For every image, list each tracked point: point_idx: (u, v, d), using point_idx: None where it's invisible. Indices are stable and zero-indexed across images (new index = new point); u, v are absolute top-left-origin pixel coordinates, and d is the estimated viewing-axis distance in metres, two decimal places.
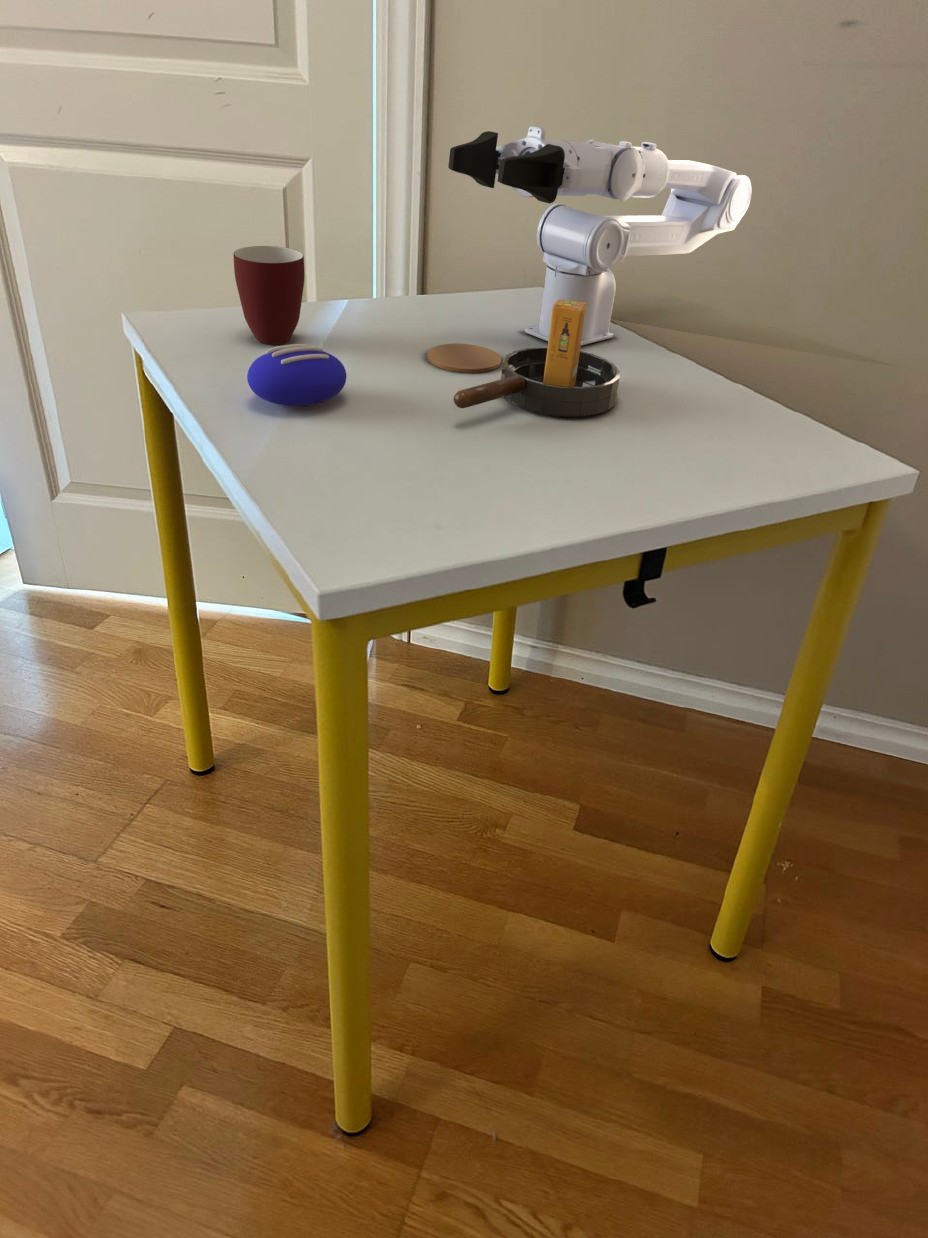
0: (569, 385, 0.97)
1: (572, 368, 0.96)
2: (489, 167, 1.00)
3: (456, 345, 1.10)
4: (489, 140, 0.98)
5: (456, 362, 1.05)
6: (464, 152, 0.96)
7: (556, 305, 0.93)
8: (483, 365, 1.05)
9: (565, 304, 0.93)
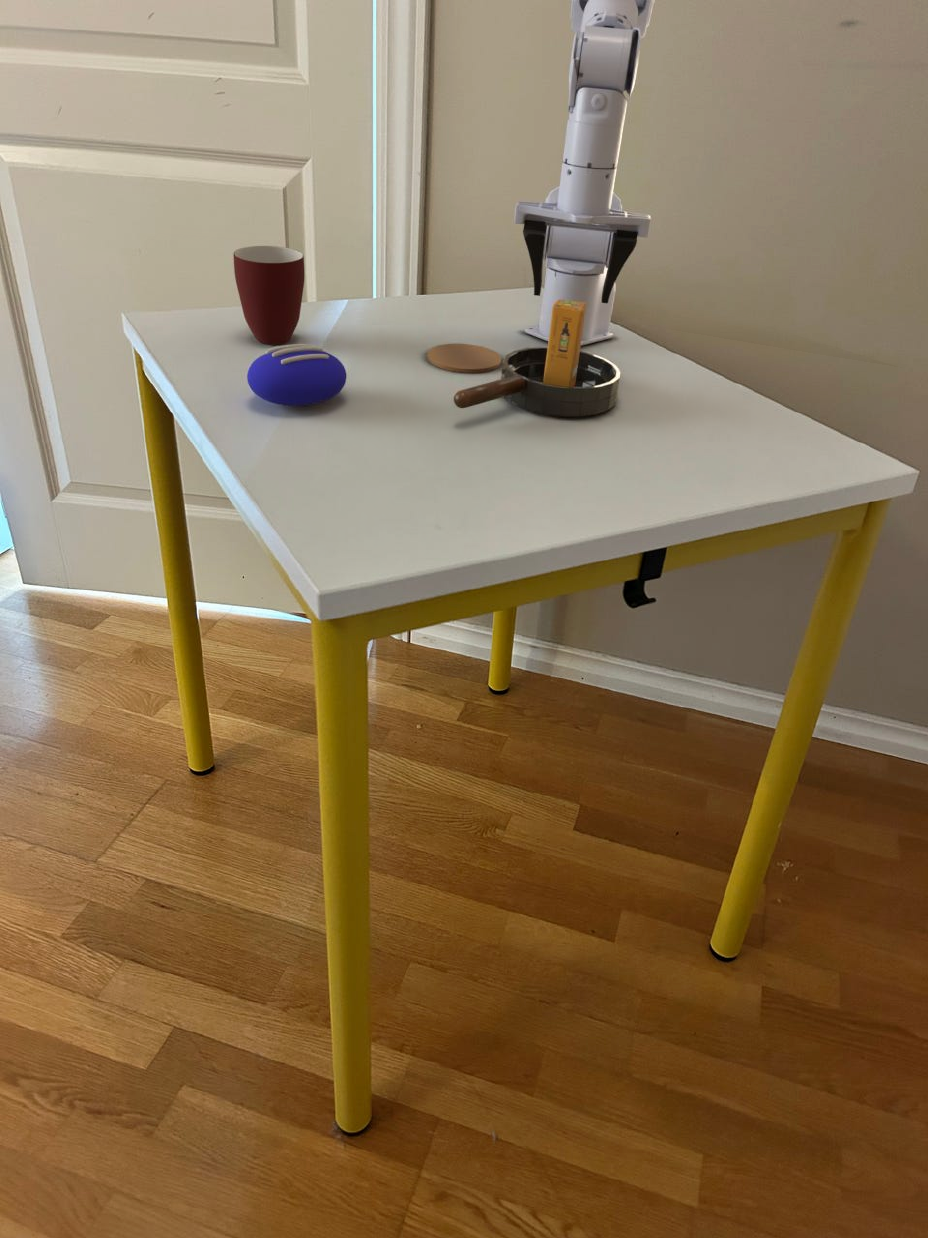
0: (569, 385, 0.97)
1: (572, 368, 0.96)
2: (545, 236, 0.97)
3: (456, 345, 1.10)
4: (543, 247, 0.96)
5: (456, 362, 1.05)
6: (541, 280, 0.99)
7: (556, 305, 0.93)
8: (483, 365, 1.05)
9: (565, 304, 0.93)
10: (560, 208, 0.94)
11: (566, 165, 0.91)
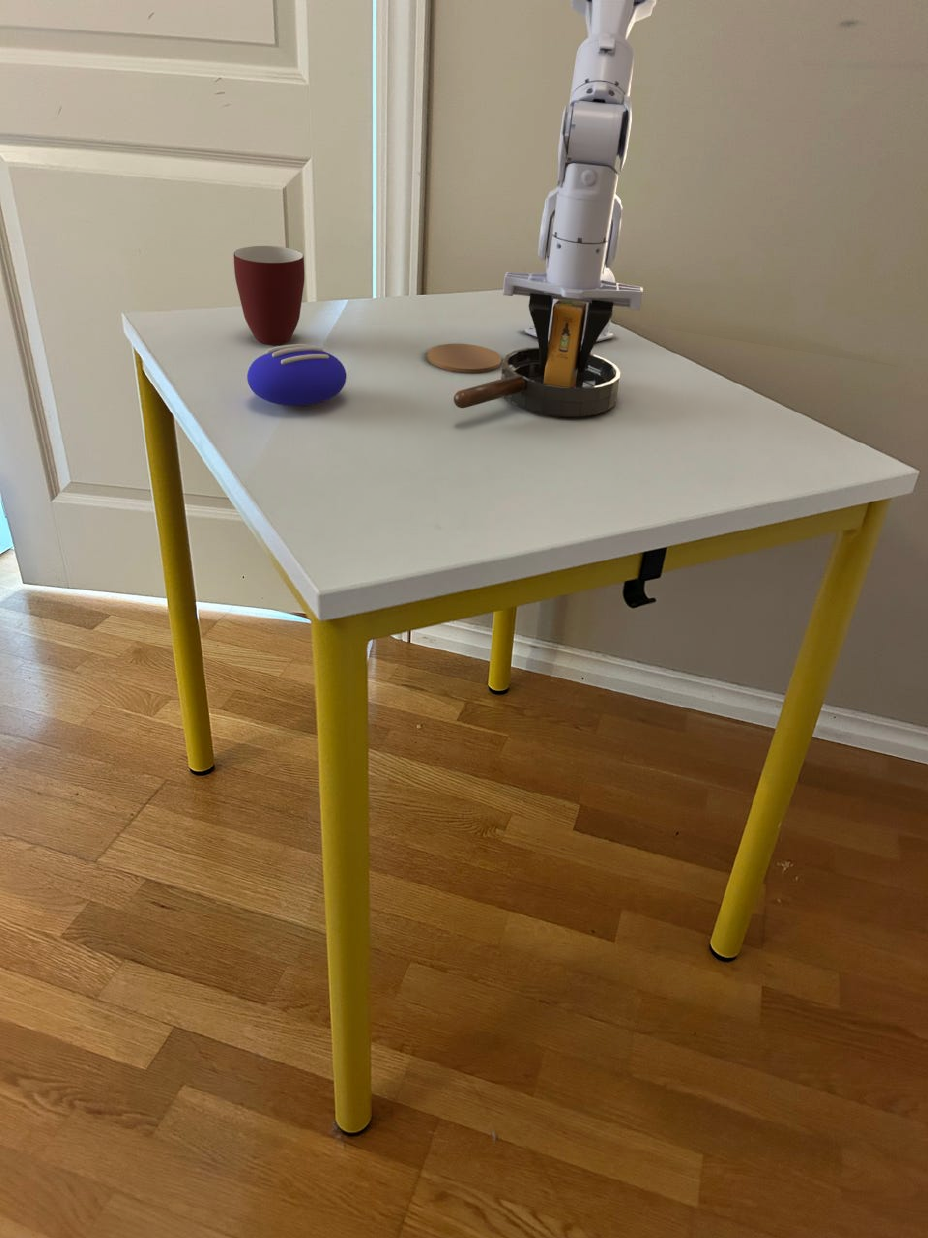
0: (569, 385, 0.97)
1: (572, 368, 0.96)
2: None
3: (456, 345, 1.10)
4: (549, 321, 0.93)
5: (456, 362, 1.05)
6: None
7: (557, 305, 0.93)
8: (483, 365, 1.05)
9: (566, 304, 0.93)
10: (550, 281, 0.91)
11: (556, 239, 0.89)
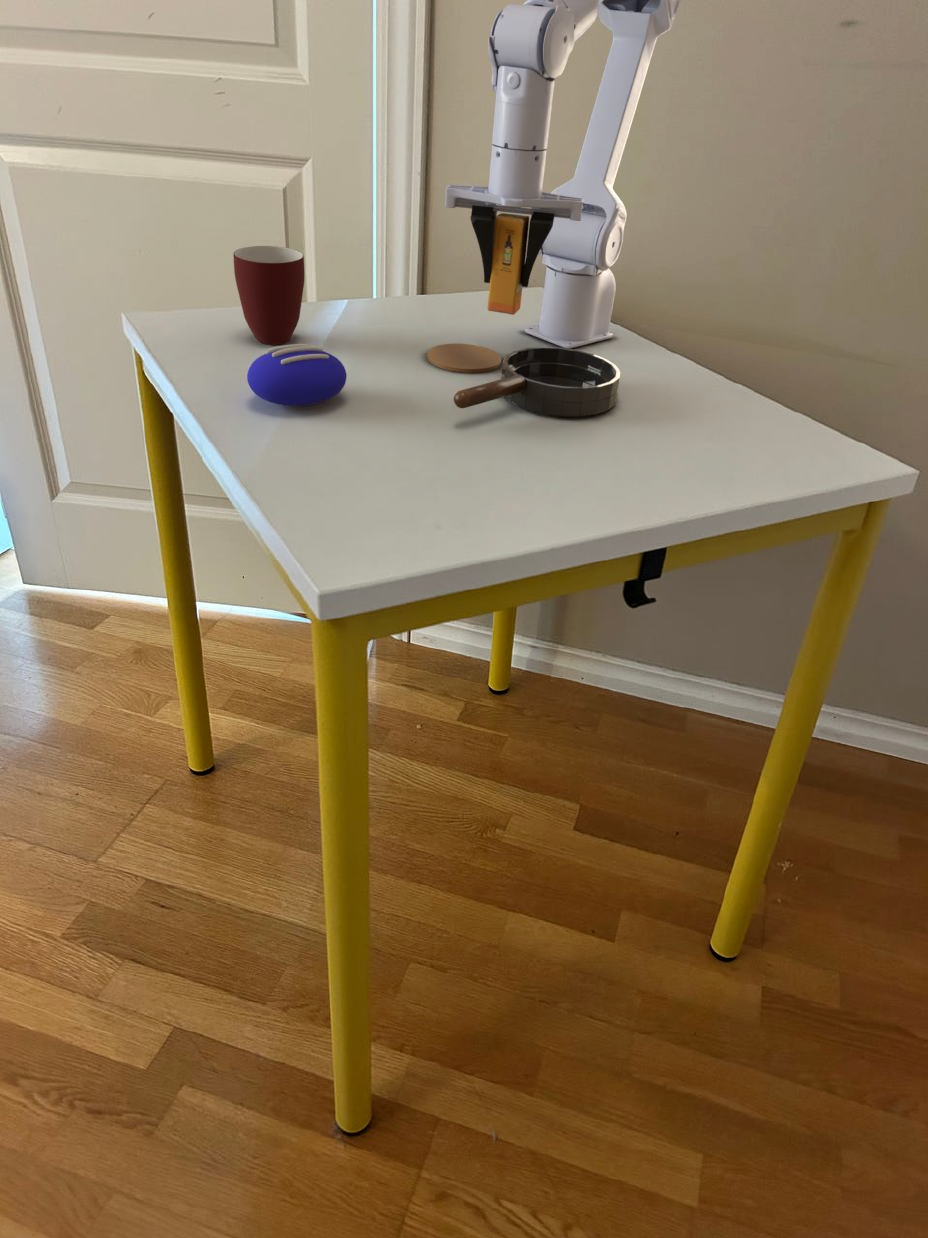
0: (514, 300, 0.98)
1: (516, 282, 0.97)
2: (494, 222, 0.96)
3: (456, 345, 1.10)
4: (491, 233, 0.94)
5: (456, 362, 1.05)
6: None
7: (499, 217, 0.94)
8: (483, 365, 1.05)
9: (508, 216, 0.94)
10: (491, 191, 0.92)
11: (495, 147, 0.90)
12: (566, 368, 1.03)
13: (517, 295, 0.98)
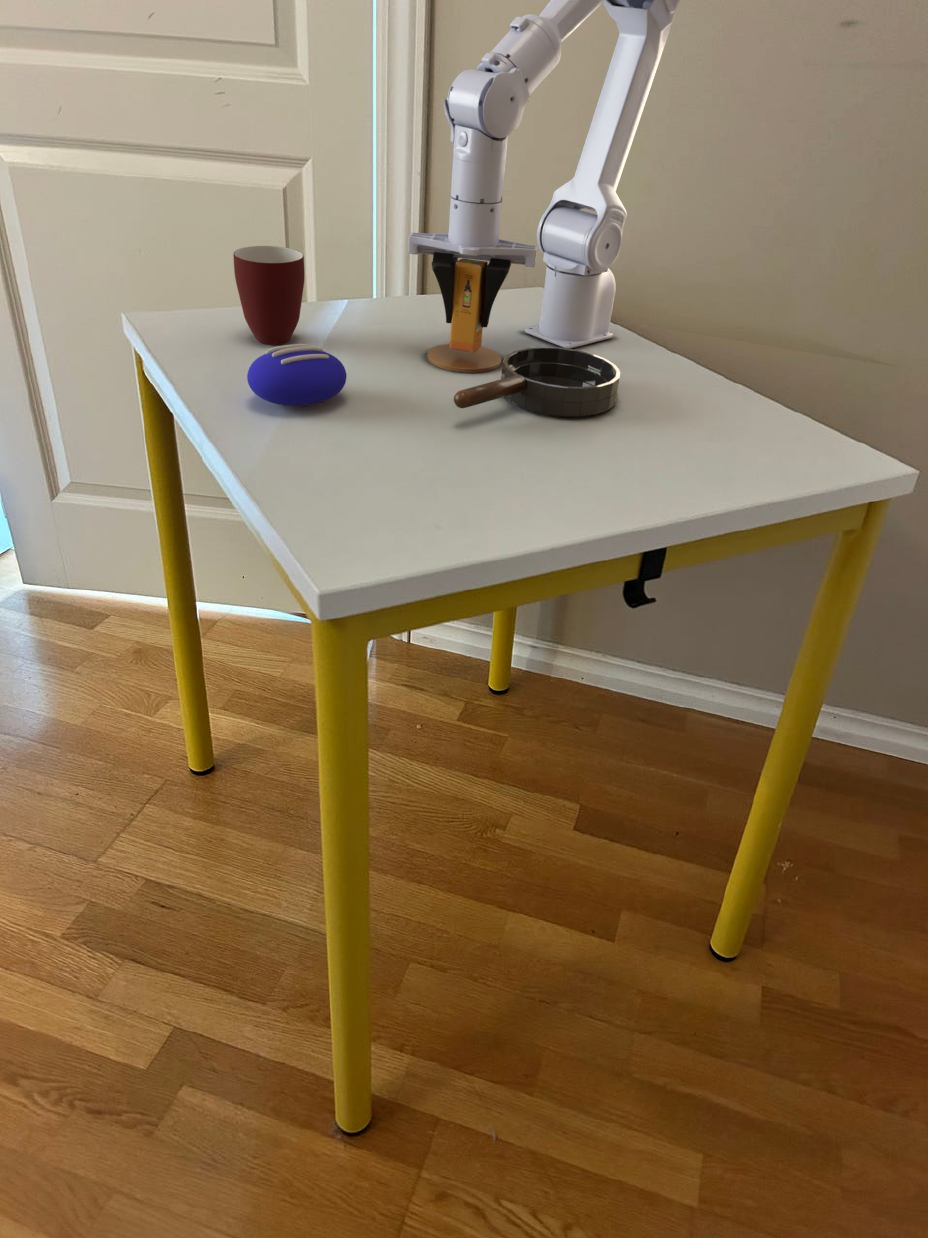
0: (474, 339, 1.04)
1: (476, 323, 1.03)
2: None
3: None
4: (451, 278, 1.00)
5: (456, 362, 1.05)
6: None
7: (458, 263, 1.00)
8: (483, 365, 1.05)
9: (466, 262, 1.00)
10: (450, 240, 0.98)
11: (453, 200, 0.96)
12: (566, 368, 1.03)
13: (477, 335, 1.04)
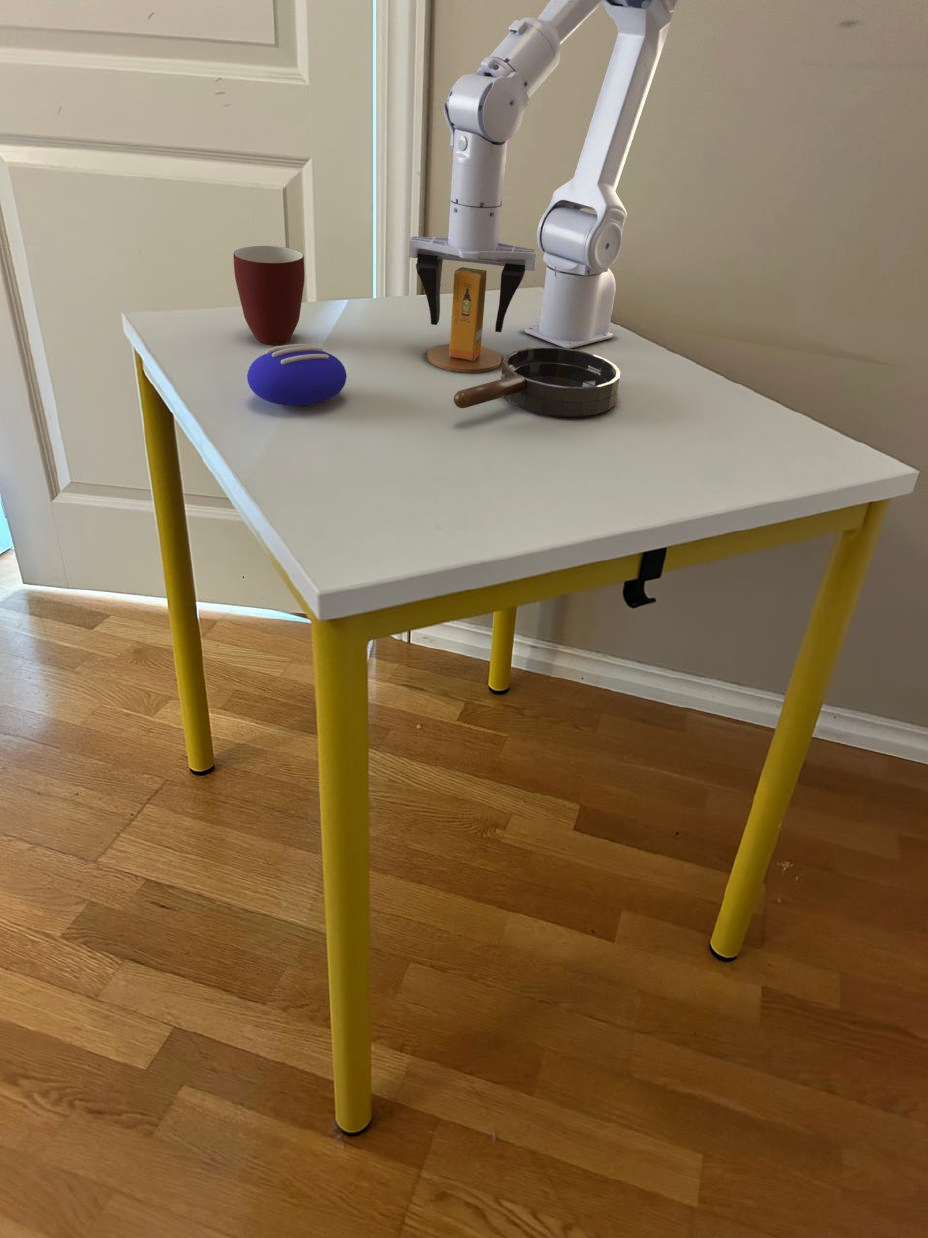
0: (473, 347, 1.04)
1: (475, 331, 1.03)
2: (440, 269, 1.02)
3: None
4: (436, 280, 1.00)
5: (456, 362, 1.05)
6: (437, 310, 1.04)
7: (457, 272, 1.01)
8: (483, 365, 1.05)
9: (466, 271, 1.01)
10: (450, 243, 0.99)
11: (452, 203, 0.96)
12: (566, 368, 1.03)
13: (476, 343, 1.05)
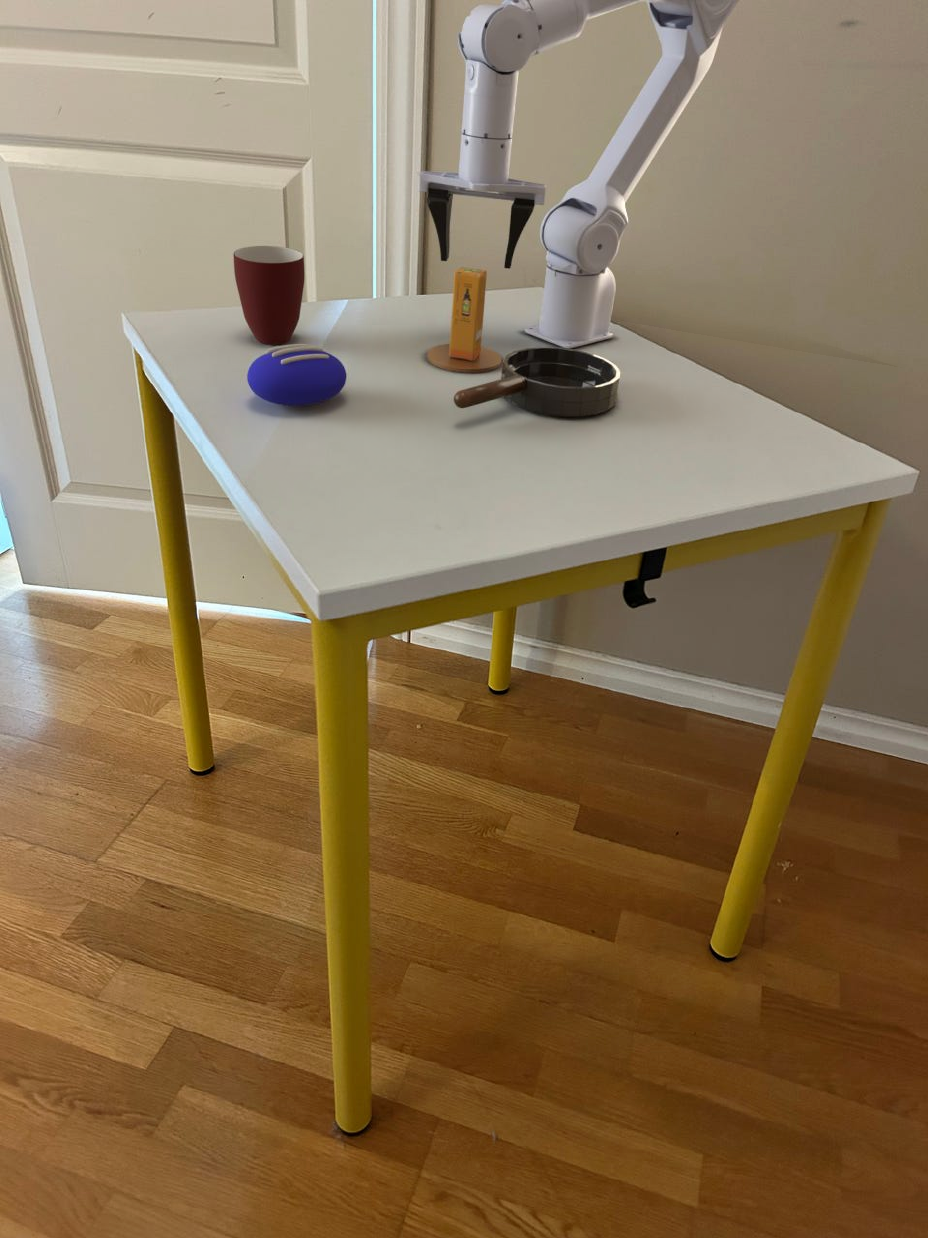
0: (473, 347, 1.04)
1: (475, 331, 1.03)
2: (450, 204, 1.03)
3: None
4: (446, 214, 1.01)
5: (456, 362, 1.05)
6: (447, 246, 1.05)
7: (457, 272, 1.01)
8: (483, 365, 1.05)
9: (466, 271, 1.01)
10: (460, 177, 1.00)
11: (464, 135, 0.97)
12: (566, 368, 1.03)
13: (476, 343, 1.05)
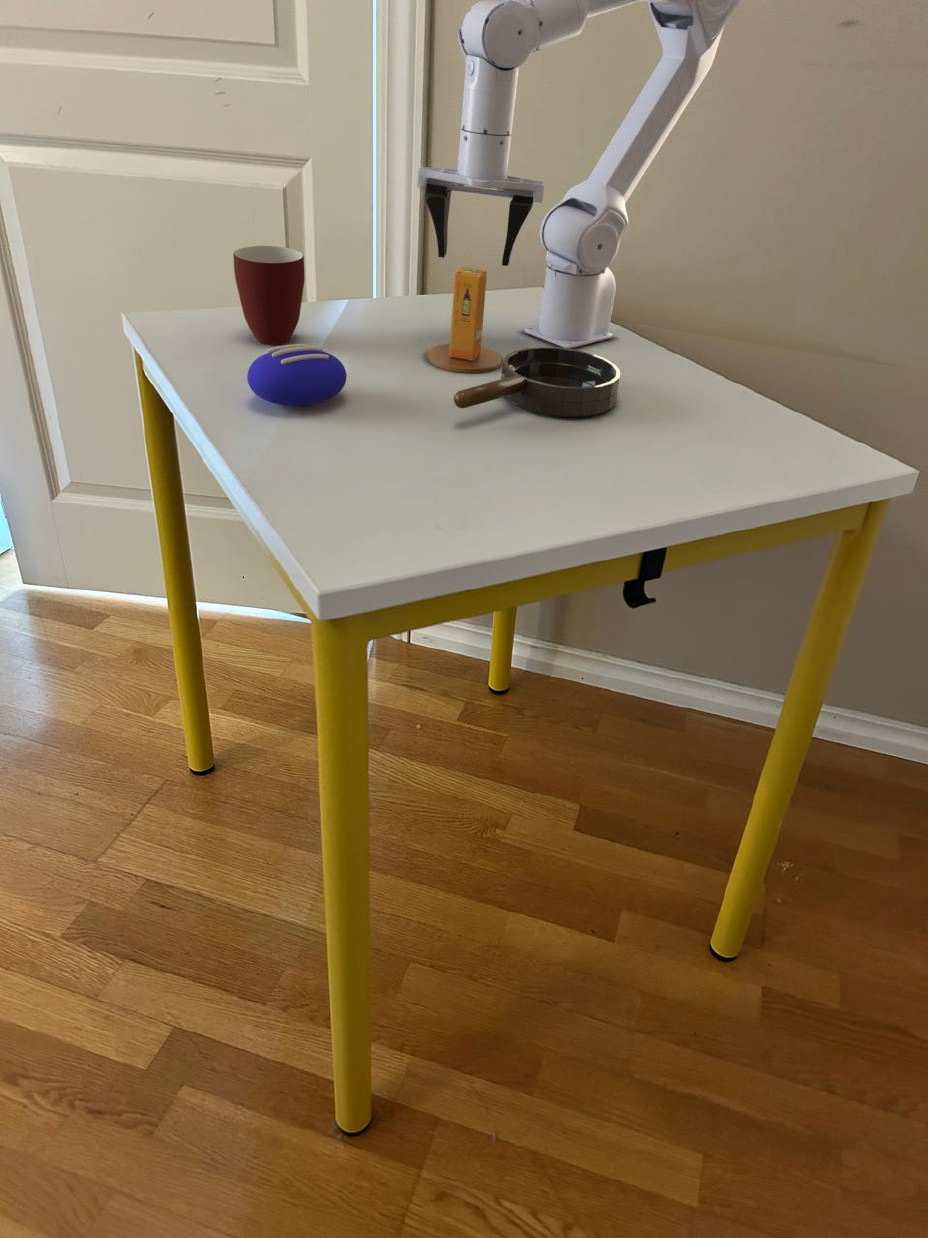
0: (473, 347, 1.04)
1: (475, 331, 1.03)
2: (448, 201, 1.03)
3: None
4: (444, 210, 1.01)
5: (456, 362, 1.05)
6: (445, 243, 1.04)
7: (457, 272, 1.01)
8: (483, 365, 1.05)
9: (466, 271, 1.01)
10: (459, 173, 0.99)
11: (463, 131, 0.97)
12: (566, 368, 1.03)
13: (476, 343, 1.05)
